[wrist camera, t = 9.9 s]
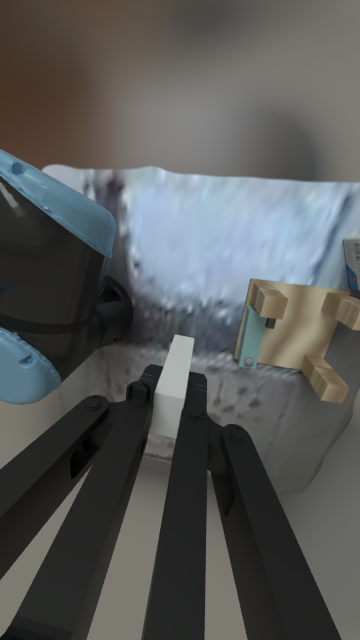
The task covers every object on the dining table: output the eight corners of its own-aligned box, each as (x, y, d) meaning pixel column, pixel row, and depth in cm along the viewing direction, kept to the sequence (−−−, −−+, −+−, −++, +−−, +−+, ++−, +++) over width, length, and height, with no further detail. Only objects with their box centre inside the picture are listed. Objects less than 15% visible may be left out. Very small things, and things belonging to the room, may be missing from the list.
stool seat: (233, 356, 43) (238, 388, 34) (250, 278, 38) (262, 291, 28) (315, 369, 42) (344, 406, 33) (347, 290, 36) (393, 308, 27)
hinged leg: (252, 360, 42) (256, 370, 38) (237, 358, 42) (239, 368, 39) (264, 307, 38) (269, 313, 34) (247, 305, 38) (250, 311, 35)
